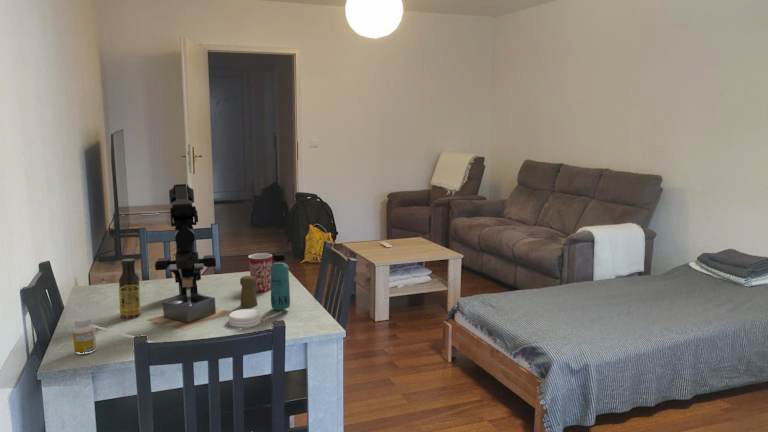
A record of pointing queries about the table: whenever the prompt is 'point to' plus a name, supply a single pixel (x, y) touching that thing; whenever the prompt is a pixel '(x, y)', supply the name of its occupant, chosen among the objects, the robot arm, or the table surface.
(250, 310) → the white round container
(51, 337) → the table surface
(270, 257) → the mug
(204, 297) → the shallow square tray
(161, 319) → the tan square board
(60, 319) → the table surface
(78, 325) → the supplement bottle
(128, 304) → the sauce bottle
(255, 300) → the pepper shaker
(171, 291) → the table surface
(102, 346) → the table surface
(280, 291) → the beverage bottle
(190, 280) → the plunger
